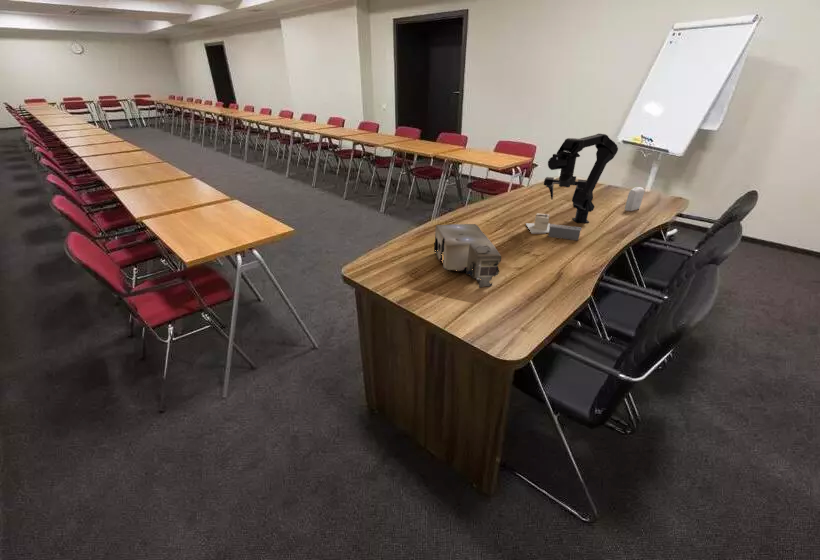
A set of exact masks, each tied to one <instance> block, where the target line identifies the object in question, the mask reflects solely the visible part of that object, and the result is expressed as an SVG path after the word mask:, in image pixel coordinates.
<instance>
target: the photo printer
mask: <svg viewBox="0 0 820 560" xmlns="http://www.w3.org/2000/svg"><path fill="white" fill-rule="evenodd" d="M644 194H645V188H644V187H642V186H635V187H633V188H631V189H630V191H629V192H628V194H627V199H626V202H625V206H624V210H625V211H627V212H633V211H636V210H639V209H640V208H641V205H642V201H643V198H644Z"/></svg>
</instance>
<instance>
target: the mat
mask: <svg viewBox="0 0 820 560" xmlns="http://www.w3.org/2000/svg"><path fill="white" fill-rule="evenodd" d="M534 223H535V222H531V223H530V222H529V223H527V222H526V223H525V224H526V225H525V227H526V226H527V227H528V228H527V227H526V228H527V230H528V229H529V230H530V231H529V230H528V231H529V232H531V233H530V234H546V233H549V230H550V227H549V225H550V224H551V223H550V222H548V227H547V230H540V229H534Z"/></svg>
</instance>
